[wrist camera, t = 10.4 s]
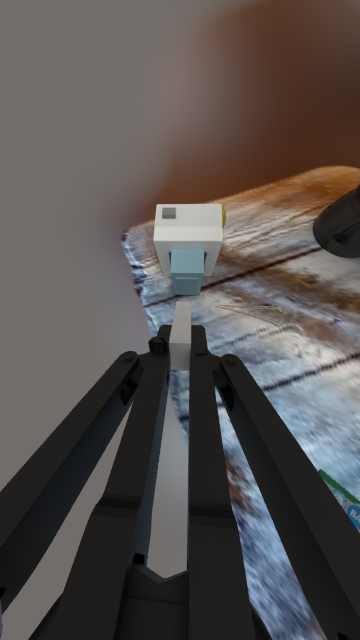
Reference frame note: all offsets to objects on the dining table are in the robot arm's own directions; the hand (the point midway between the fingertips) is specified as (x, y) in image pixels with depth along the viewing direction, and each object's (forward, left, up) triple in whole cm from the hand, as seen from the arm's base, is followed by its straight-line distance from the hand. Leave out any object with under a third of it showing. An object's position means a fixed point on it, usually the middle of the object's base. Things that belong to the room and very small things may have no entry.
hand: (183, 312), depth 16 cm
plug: (0, -14, -19) cm, 23 cm away
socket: (0, -18, -19) cm, 26 cm away
